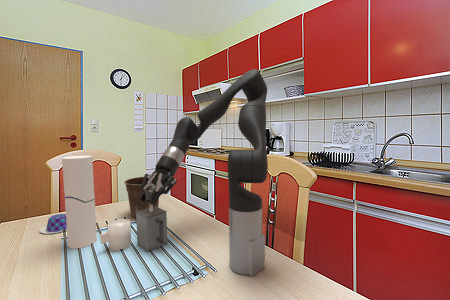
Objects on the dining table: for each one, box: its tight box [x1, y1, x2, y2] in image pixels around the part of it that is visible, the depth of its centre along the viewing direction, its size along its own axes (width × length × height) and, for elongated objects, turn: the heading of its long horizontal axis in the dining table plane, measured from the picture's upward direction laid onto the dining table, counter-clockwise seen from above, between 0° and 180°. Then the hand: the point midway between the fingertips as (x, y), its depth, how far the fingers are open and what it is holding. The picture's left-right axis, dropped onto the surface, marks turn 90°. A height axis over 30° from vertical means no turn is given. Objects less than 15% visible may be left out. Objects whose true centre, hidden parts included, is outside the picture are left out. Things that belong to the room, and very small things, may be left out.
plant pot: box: [123, 176, 160, 219], centre depth 106 cm, size 16×16×16 cm
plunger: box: [145, 189, 156, 213], centre depth 78 cm, size 5×5×16 cm
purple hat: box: [39, 213, 67, 235], centre depth 92 cm, size 12×12×5 cm
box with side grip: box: [135, 206, 168, 253], centre depth 77 cm, size 10×7×12 cm
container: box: [61, 155, 98, 250], centre depth 79 cm, size 9×9×30 cm
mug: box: [99, 218, 132, 252], centre depth 76 cm, size 7×9×8 cm
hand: (146, 202), depth 75 cm, fingers open, 4 cm apart
